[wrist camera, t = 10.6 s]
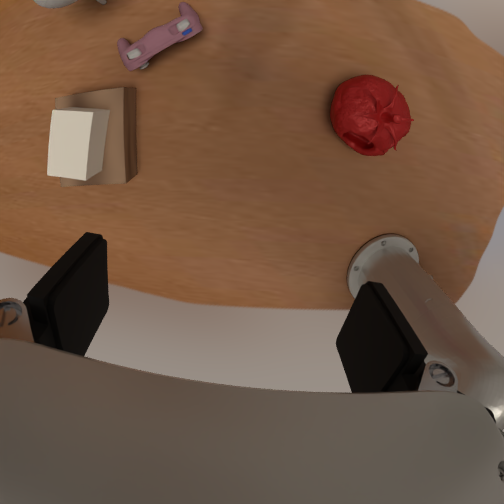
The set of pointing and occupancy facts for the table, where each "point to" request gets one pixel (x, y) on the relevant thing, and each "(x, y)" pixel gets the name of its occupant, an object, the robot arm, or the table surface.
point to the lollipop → (59, 3)
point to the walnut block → (110, 134)
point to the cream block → (77, 142)
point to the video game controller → (159, 38)
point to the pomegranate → (370, 114)
